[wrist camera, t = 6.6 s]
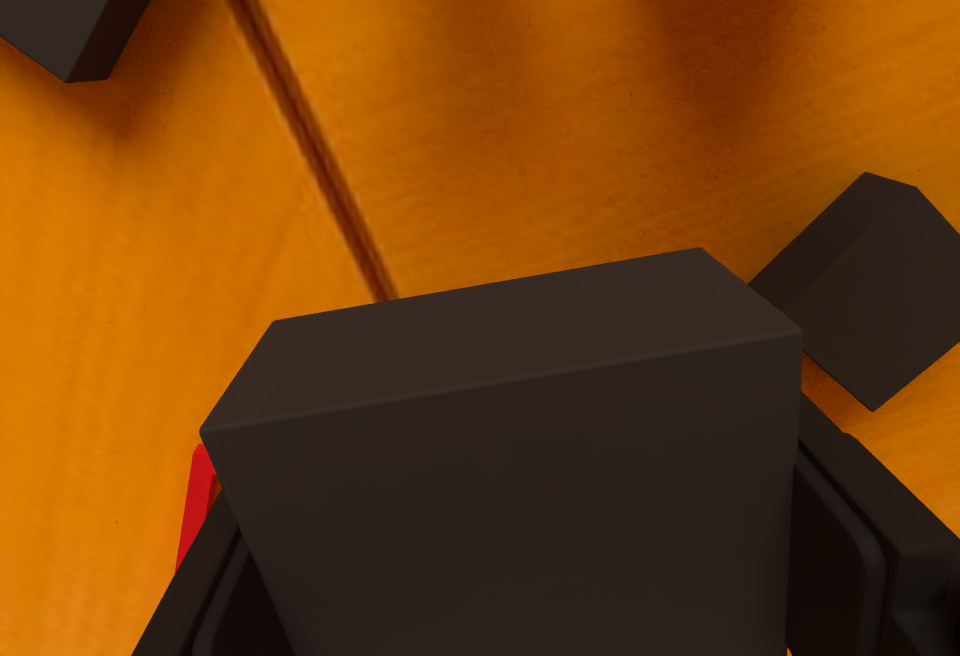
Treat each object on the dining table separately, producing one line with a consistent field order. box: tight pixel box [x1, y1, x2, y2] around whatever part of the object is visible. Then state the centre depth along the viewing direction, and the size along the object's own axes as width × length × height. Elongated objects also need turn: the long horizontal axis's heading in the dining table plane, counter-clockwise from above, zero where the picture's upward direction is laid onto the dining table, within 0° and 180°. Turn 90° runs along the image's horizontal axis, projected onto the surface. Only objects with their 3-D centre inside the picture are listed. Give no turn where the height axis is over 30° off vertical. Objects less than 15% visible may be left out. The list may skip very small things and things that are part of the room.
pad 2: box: [748, 172, 960, 412], centre depth 24 cm, size 6×6×3 cm
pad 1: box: [199, 247, 804, 656], centre depth 9 cm, size 6×6×3 cm
